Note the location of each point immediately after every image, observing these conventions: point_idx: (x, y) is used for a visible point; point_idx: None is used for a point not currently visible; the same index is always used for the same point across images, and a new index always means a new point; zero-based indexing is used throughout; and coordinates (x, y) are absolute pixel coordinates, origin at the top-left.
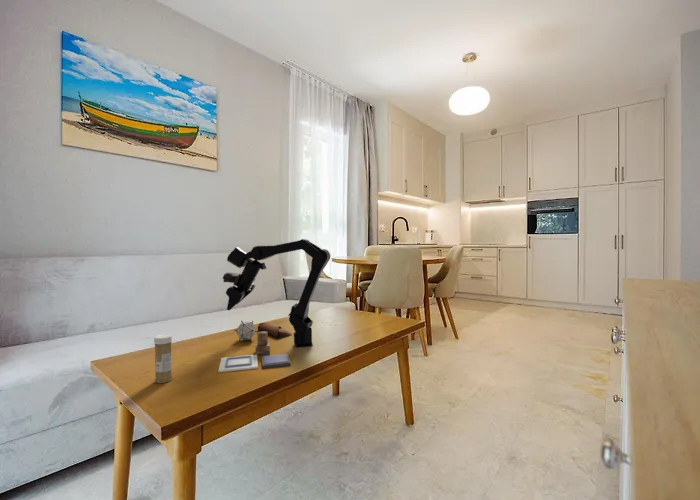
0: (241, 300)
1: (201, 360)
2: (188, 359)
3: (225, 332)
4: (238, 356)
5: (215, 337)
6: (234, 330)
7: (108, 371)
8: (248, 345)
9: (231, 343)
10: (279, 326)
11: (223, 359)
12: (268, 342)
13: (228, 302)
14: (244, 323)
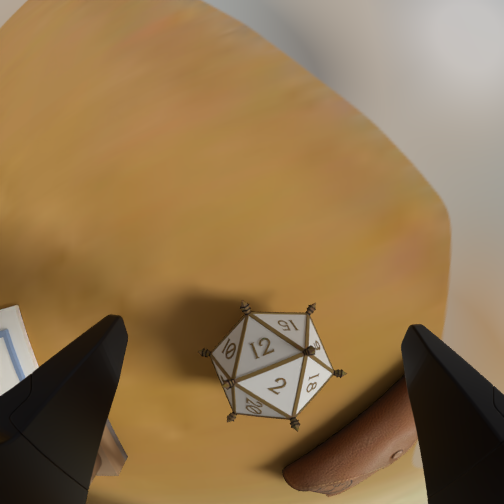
0: (415, 419)
1: (10, 231)
2: (22, 176)
3: (412, 186)
4: (31, 365)
5: (326, 159)
6: (241, 305)
7: (3, 29)
8: (180, 376)
9: (213, 284)
10: (405, 452)
11: (4, 317)
12: (111, 473)
13: (35, 375)
14: (264, 380)
